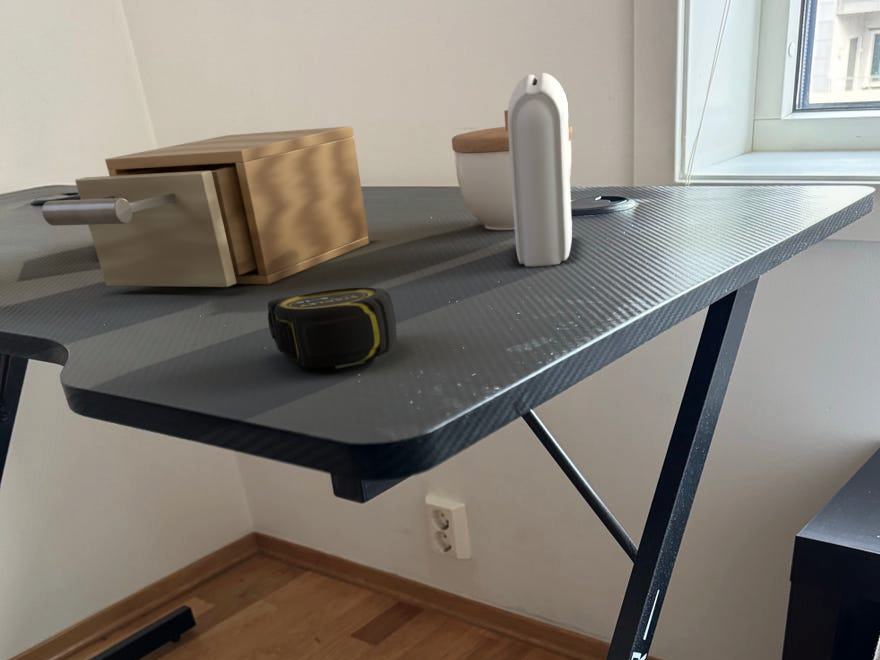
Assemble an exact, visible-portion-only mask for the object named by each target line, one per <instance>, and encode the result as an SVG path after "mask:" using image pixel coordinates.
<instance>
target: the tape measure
mask: <svg viewBox="0 0 880 660" xmlns="http://www.w3.org/2000/svg"><path fill="white" fill-rule="evenodd" d="M267 311H268V314H267V322H268V327H269V332H270V335H271V338H272V339H274V343H275V346H276V348H277V350H278V351H279V352H280V353H281V354H282V357H283V359H284V360H285V361H286V362H287V363H289V364H290V365H294V366H297V367H302V368H330V367H334V368H335V370H336V369H342V368H347V367H352V366H358V365H363V364H366V361H369V360H371V359H375V358H379V357H380V356H383V355H385V354H386V353H388V352H390V351H391V350H392V349H393V348H394V347H395V344H396V342H397V322H396V314H395V308H394V305H393V300H392V297H391V295H390V293H389V292H388V291H387V290H386V289H384V288H380V287H369V286H368V287H366V286H352V287H340V288H330V289H323V290H319V291H318V290H317V291H313V292H312V291H311V292H309V293H304V294H299V295H294V296H288V297H281V298H275V299H272V300H269V301H268V302H267Z"/></svg>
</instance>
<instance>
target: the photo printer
mask: <svg viewBox="0 0 880 660" xmlns="http://www.w3.org/2000/svg"><path fill="white" fill-rule="evenodd" d="M537 76H538V77H536V76H535V75H534V74H527V75H526V76H524V77H523V78H522V79H521V80H519V82H518V83H517V85H516V86H515V87H514V90H513V91H512V93H511V96H510V99H509V102H508V109H507V110H508V134H509V149H510V165H511V182H512V198H513V213H514V227H515V229H514V239H515V250H516V256H517V260H518V262H519V264H520V265H524V266H525V267H530V268H531V267H533V268H534V267H535V268H536V267H538V268H539V267H550V266H556V265H559V264H561V262H564V261H567V260H568V258H569V256H570V253H571V248H572V241H573V240H572V239H573V220H572V198H571V196H572V195H571V174H570V166H569V132H568V125H569V117H570V116H569V105H568V104H569V103H568V99H567V95H566V92H565V90H564V88H563V87H562V85H561V84H560V82H559V81H558V80H557V79H556V78H555V77H554V76H553V75H551V74H550V73H547V72H541V73H540V74H539V75H537Z"/></svg>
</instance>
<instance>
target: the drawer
mask: <svg viewBox="0 0 880 660" xmlns="http://www.w3.org/2000/svg"><path fill="white" fill-rule="evenodd" d="M74 182H75V185H76V189H77V192H78V196H79V198H80V199H66V200H65V199H64V200H47V201H45V202H44V203H43V205H42V208H41V213H42V216H43V219H44V221H45V222H47V224H49V225H50V226H56V227H57V226H88V228H89V232H90V235H91V239H92V243H93V246H94V249H95V252H96V255H97V259H98V262H99V265H100V269H101V272H102V275H103V280H104V283H105V285H106V286H107V287H163V288H165V287H167V288H169V287H170V288H172V287H175V288H229V287H231V286H234V285H237V284H236V279H235V275H241V274H244V273H247V272H249V271H252V270H255V269H257V263H256V258H255V253H254V249H253V244H252V239H251V234H250V230H249V225H248V220H247V215H246V211H245V206H244V201H243V196H242V192H241V187H240V182H239V177H238V173H237V168H236V163H224V164H207V165H190V166H172V167H155V168H146V169H141V170H137V171H132V172H127V173H123V174H118V175H113V176H110V175H103V176H87V177H86V176H85V177H81V178H76V179H75V180H74Z"/></svg>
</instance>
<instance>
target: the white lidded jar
mask: <svg viewBox="0 0 880 660" xmlns="http://www.w3.org/2000/svg"><path fill="white" fill-rule="evenodd" d="M503 113H504V115H503V116H504V126H500V127H499V126H497V127H491V128H485V129H478V130H472V131H469V132H468V131H467V132H463V133H459V134H456V135H454V136H453V137H451V138H452V139H451V146H452V151H453V153H454V164H455V171H456V176H457V177H456V178H457V183H458V187H459V190H460V193H461V196H462V199H463V201H464V203H465V205H466V207H467V209H468V210H469V212H470V213H471V214H472V215H473V216H474V217H475V218H476V219H477V220H478V221H480V223H482V224H483V226H484V228H485V229H488V230H494V231H495V230H496V231H509V230H515V227H514V213H513V198H512V182H511V165H510V149H509V134H508V109H506V110H504V112H503ZM568 132H569V166H570V175H571V173H572V139H573V127H572V126H571V125H570V124H568Z"/></svg>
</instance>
